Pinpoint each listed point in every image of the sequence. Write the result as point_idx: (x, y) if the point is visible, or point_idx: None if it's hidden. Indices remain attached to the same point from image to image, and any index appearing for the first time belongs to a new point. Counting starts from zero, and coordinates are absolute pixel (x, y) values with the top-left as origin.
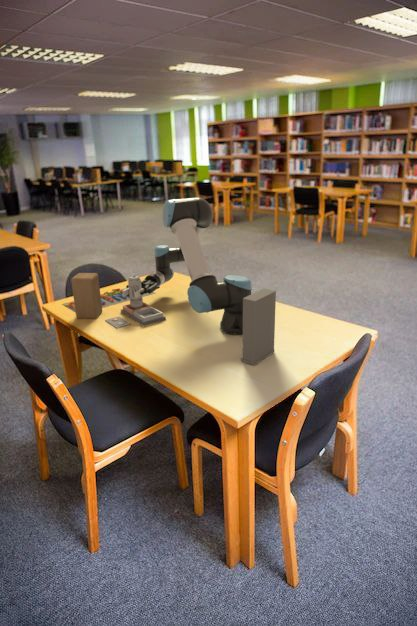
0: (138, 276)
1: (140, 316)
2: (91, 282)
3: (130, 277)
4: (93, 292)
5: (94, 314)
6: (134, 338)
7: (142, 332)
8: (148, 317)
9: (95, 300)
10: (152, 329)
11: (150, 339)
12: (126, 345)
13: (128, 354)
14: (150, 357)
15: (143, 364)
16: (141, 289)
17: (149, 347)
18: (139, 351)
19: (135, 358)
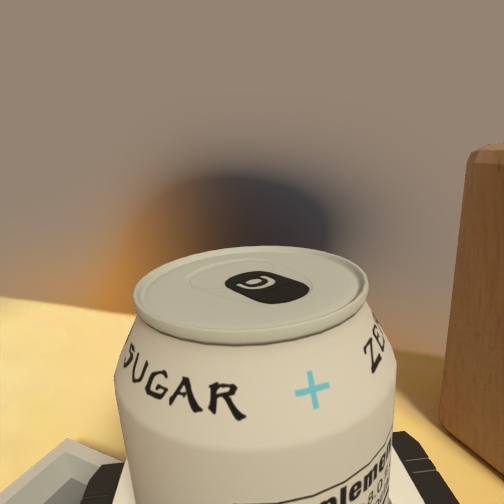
0: (183, 321)
1: (103, 456)
2: (466, 179)
3: (306, 260)
4: (461, 260)
5: (442, 395)
6: (93, 365)
7: (67, 410)
8: (32, 472)
9: (466, 328)
10: (9, 455)
11: (14, 380)
12: (107, 332)
13: (82, 311)
14: (7, 319)
15: (26, 302)
16: (119, 485)
17: (15, 346)
18: (49, 326)
19: (55, 308)
